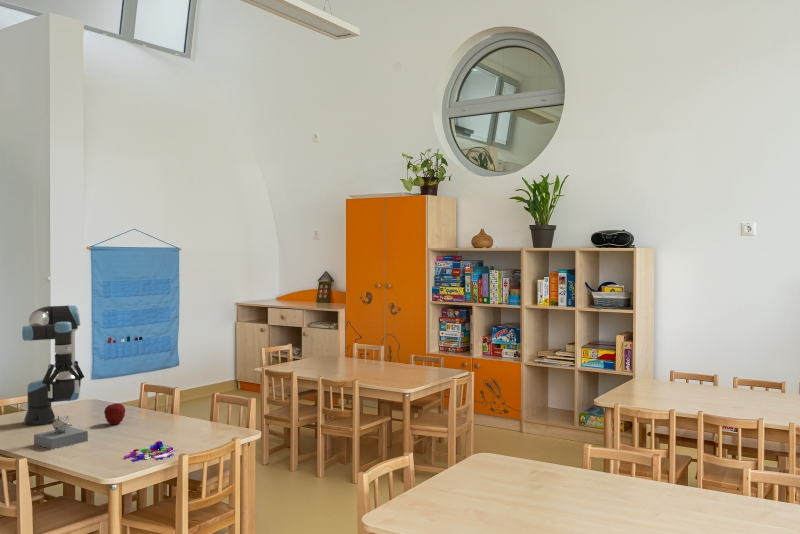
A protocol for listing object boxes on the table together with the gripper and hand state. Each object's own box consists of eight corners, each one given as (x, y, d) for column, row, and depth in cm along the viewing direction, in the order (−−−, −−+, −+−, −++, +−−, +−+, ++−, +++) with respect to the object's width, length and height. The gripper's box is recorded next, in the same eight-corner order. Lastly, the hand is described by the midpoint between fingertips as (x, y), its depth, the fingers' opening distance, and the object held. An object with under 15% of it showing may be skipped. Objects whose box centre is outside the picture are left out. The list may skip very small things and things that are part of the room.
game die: (65, 439, 324) (79, 421, 327) (56, 437, 316) (70, 419, 319) (52, 429, 326) (66, 412, 329) (43, 427, 318) (57, 409, 321)
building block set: (143, 465, 286) (143, 455, 286) (118, 457, 299) (117, 448, 298) (192, 452, 306) (192, 442, 306) (166, 445, 319) (166, 436, 319)
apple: (109, 421, 365) (109, 400, 365) (128, 421, 365) (128, 400, 365) (100, 426, 354) (100, 405, 354) (120, 426, 354) (120, 404, 354)
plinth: (34, 444, 319) (33, 434, 319) (69, 436, 334) (69, 426, 334) (51, 449, 310) (51, 439, 310) (87, 440, 325) (87, 430, 325)
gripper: (42, 356, 314) (42, 400, 314) (91, 350, 334) (91, 391, 335) (33, 355, 318) (34, 398, 318) (83, 349, 338) (83, 389, 339)
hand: (63, 395), depth 326 cm, fingers open, 13 cm apart
